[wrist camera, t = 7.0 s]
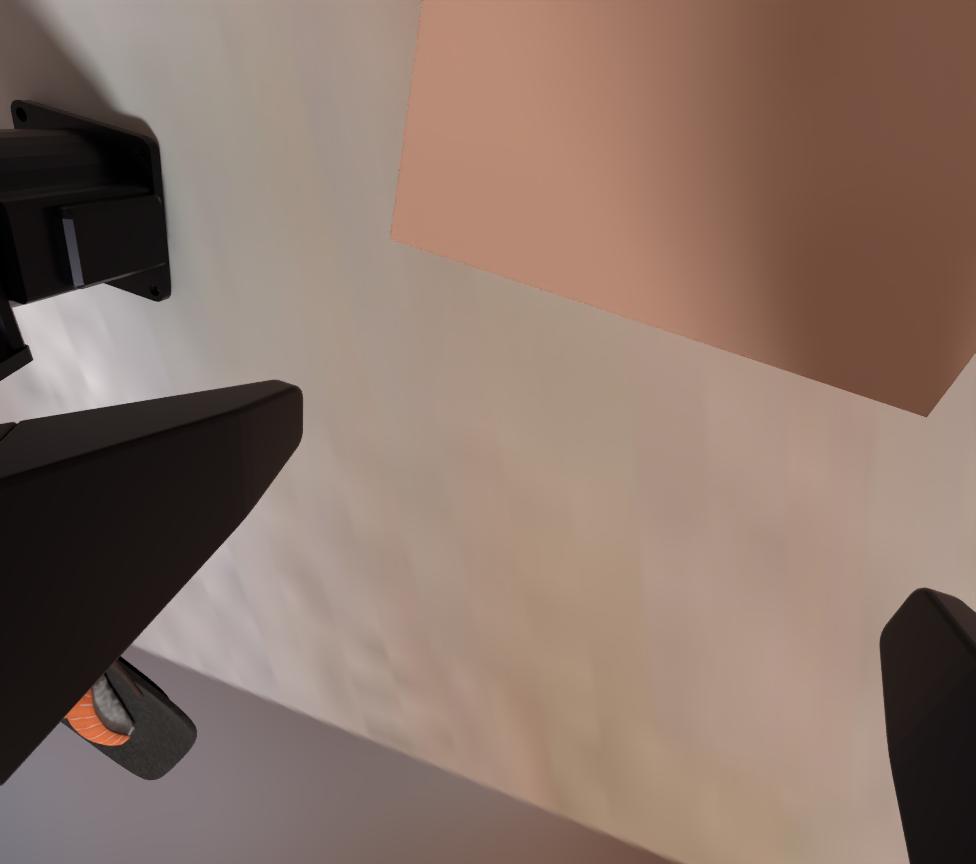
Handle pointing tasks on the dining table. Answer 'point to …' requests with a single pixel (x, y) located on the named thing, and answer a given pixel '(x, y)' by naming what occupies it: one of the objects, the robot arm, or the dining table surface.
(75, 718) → the sushi plate
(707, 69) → the terracotta tile
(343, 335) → the dining table surface
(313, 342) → the dining table surface
